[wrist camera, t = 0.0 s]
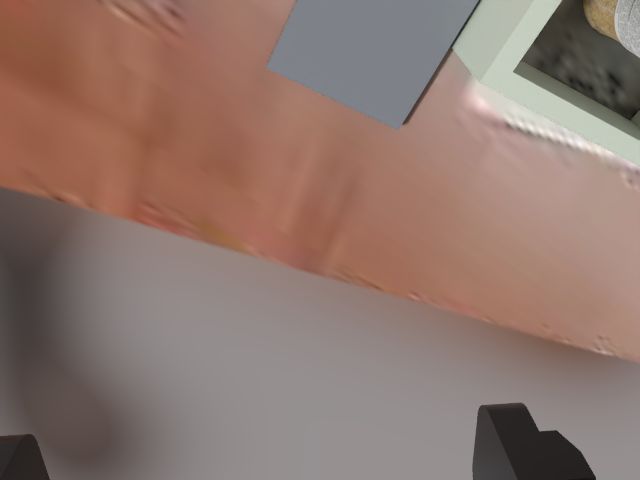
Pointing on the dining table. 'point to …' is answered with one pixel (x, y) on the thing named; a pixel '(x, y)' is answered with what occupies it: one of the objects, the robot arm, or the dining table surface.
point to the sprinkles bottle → (616, 21)
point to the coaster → (368, 50)
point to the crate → (537, 74)
